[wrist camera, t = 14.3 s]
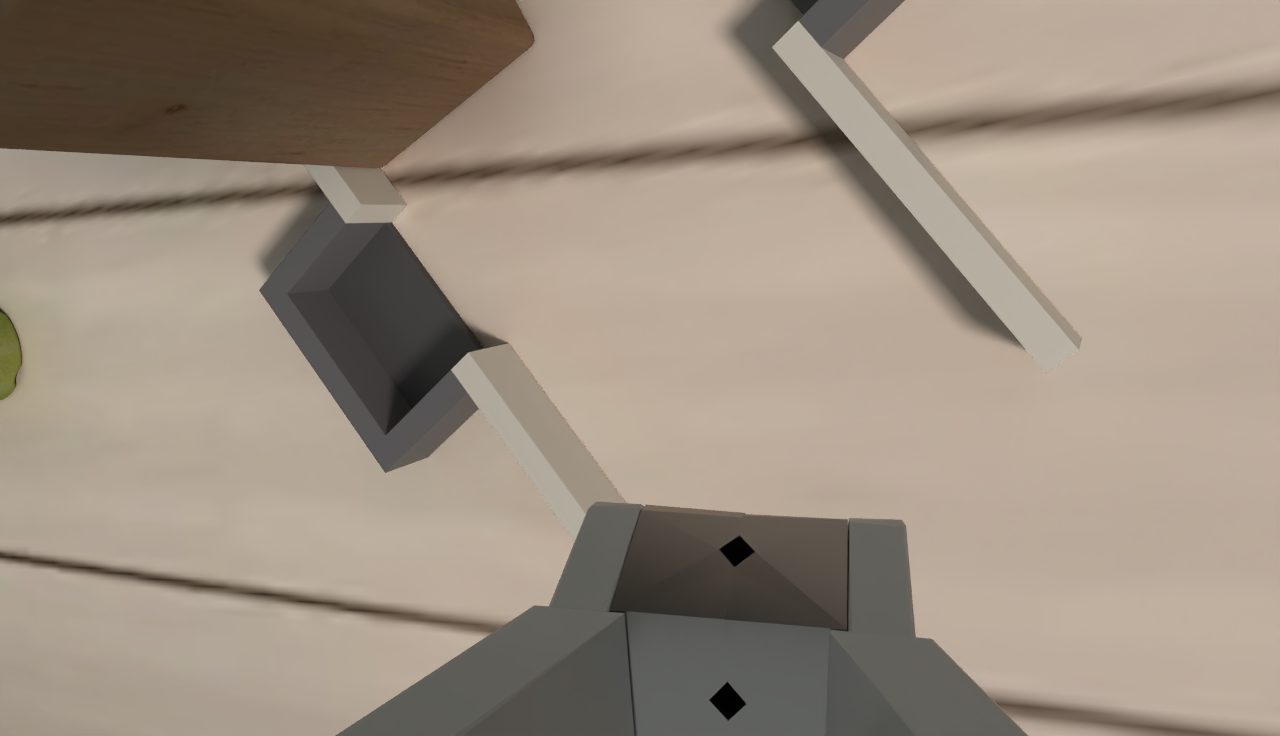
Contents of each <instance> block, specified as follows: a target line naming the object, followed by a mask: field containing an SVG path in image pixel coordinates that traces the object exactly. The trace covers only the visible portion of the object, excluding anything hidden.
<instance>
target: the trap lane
mask: <svg viewBox="0 0 1280 736" xmlns="http://www.w3.org/2000/svg"><path fill="white" fill-rule="evenodd" d="M772 48H773V49H774V50H775V52H776V53H777V54H778V55H779V56H780V58H781V59H782V60H783V61H784V62H785V64H786V65H787V66H788V67H789V68H790V70H791V71H792V72H793V73H794V74H795V75H796V77H797V78H798V79H799V80H800V81H801V83H802V84H803V85H804V86H805V87H806V89H807V90H808V91H809V92H810V93H811V94H812V96H813V97H814V98H815V99H816V100H817V102H818V103H819V104H820V105H821V106H822V108H823V109H824V110H825V111H826V112H827V114H828V115H829V116H830V117H831V118H832V119H833V121H834V122H835V123H836V124H837V125H838V127H839V128H840V129H841V130H842V131H843V133H844V134H845V135H846V136H847V137H848V138H849V140H850V141H851V142H852V143H853V144H854V146H855V147H856V148H857V149H858V150H859V152H860V153H861V154H862V155H863V156H864V158H865V159H866V160H867V161H868V162H869V163H870V165H871V166H872V167H873V168H874V169H875V171H876V172H877V173H878V174H879V175H880V177H881V178H882V179H883V180H884V181H885V182H886V184H887V185H888V186H889V187H890V188H891V190H892V191H893V192H894V193H895V194H896V196H897V197H898V198H899V199H900V200H901V202H902V203H903V204H904V205H905V206H906V207H907V209H908V210H909V211H910V212H911V213H912V215H913V216H914V217H915V218H916V219H917V221H918V222H919V223H920V224H921V225H922V226H923V228H924V229H925V230H926V231H927V232H928V234H929V235H930V236H931V237H932V238H933V240H934V241H935V242H936V243H937V244H938V245H939V247H940V248H941V249H942V250H943V251H944V253H945V254H946V255H947V256H948V257H949V259H950V260H951V261H952V262H953V263H954V265H955V266H956V267H957V268H958V269H959V270H960V272H961V273H962V274H963V275H964V276H965V278H966V279H967V280H968V281H969V282H970V284H971V285H972V286H973V287H974V288H975V289H976V291H977V292H978V293H979V294H980V295H981V297H982V298H983V299H984V300H985V301H986V303H987V304H988V305H989V306H990V307H991V309H992V310H993V311H994V312H995V313H996V314H997V316H998V317H999V318H1000V319H1001V320H1002V322H1003V323H1004V324H1005V325H1006V326H1007V328H1008V329H1009V330H1010V331H1011V332H1012V333H1013V335H1014V336H1015V337H1016V338H1017V339H1018V341H1019V342H1020V343H1021V344H1022V345H1023V347H1024V348H1025V349H1026V350H1027V351H1028V353H1029V354H1030V355H1031V356H1032V357H1033V358H1034V360H1035V361H1036V362H1037V363H1038V364H1039V366H1040V367H1041V368H1042V369H1043V370H1044V372H1045V373H1047V372H1048V371H1050V370H1051V369H1053V368H1054V367H1056V366H1057V365H1058V364H1060V363H1061V362H1063V361H1064V360H1066V359H1067V358H1068V357H1070V356H1071V355H1073V354H1074V353H1076V352H1077V351H1078V350H1079V348H1080V344H1081V340H1082V338H1081V337H1080V336H1079V335H1078V334H1077V332H1076V331H1075V330H1074V329H1073V328H1072V327H1071V325H1070V324H1069V323H1068V322H1067V321H1066V320H1065V318H1064V317H1063V316H1062V315H1061V314H1060V313H1059V311H1058V310H1057V309H1056V308H1055V307H1054V306H1053V304H1052V303H1051V302H1050V301H1049V300H1048V299H1047V297H1046V296H1045V295H1044V294H1043V293H1042V292H1041V290H1040V289H1039V288H1038V287H1037V286H1036V284H1035V283H1034V282H1033V281H1032V280H1031V279H1030V277H1029V276H1028V275H1027V274H1026V273H1025V272H1024V270H1023V269H1022V268H1021V267H1020V266H1019V265H1018V263H1017V262H1016V261H1015V260H1014V259H1013V258H1012V256H1011V255H1010V254H1009V253H1008V252H1007V251H1006V249H1005V248H1004V247H1003V246H1002V245H1001V244H1000V242H999V241H998V240H997V239H996V238H995V236H994V235H993V234H992V233H991V232H990V231H989V229H988V228H987V227H986V226H985V225H984V224H983V222H982V221H981V220H980V219H979V218H978V217H977V215H976V214H975V213H974V212H973V211H972V210H971V208H970V207H969V206H968V205H967V204H966V203H965V201H964V200H963V199H962V198H961V197H960V196H959V194H958V193H957V192H956V191H955V190H954V189H953V187H952V186H951V185H950V184H949V183H948V181H947V180H946V179H945V178H944V177H943V176H942V174H941V173H940V172H939V171H938V170H937V169H936V167H935V166H934V165H933V164H932V163H931V162H930V160H929V159H928V158H927V157H926V156H925V155H924V153H923V152H922V151H921V150H920V149H919V148H918V146H917V145H916V144H915V143H914V142H913V141H912V139H911V138H910V137H909V136H908V135H907V134H906V132H905V131H904V130H903V129H902V128H901V126H900V125H899V124H898V123H897V122H896V121H895V119H894V118H893V117H892V116H891V115H890V114H889V112H888V111H887V110H886V109H885V108H884V107H883V105H882V104H881V103H880V102H879V101H878V100H877V98H876V97H875V96H874V95H873V94H872V93H871V91H870V90H869V89H868V88H867V87H866V86H865V84H864V83H863V82H862V81H861V80H860V79H859V77H858V76H857V75H856V74H855V73H854V71H853V70H852V69H851V68H850V67H849V66H848V64H847V63H846V62H845V61H844V60H843V59H842V58H840V57H838V56H836V55H834V54H832V53H831V52H829V51H827V50H825V49H823V48H821V47H820V46H819V44H818V43H817V42H816V41H815V40H814V39H813V37H812V36H811V35H810V34H809V33H808V32H807V30H806V29H805V28H804V27H803V26H802V24H801V23H800V22H799V21H797V22H796V23H795V24H794V25H793V26H792V27H791V28H790V29H789V30H788V32H787V33H786V34H785V35H784V36H783V37H782V38H781V39H780V40H779V41H778V42H777V43H776V44H775V45H774V46H773V47H772ZM303 165H304V164H303ZM304 166H305V167H306V169H307V170H308V172H309V173H310V174H311V176H312V177H313V178H314V180H315V181H316V183H317V184H318V185H319V187H320V188H321V190H322V191H323V192H324V194H325V195H326V197H327V198H328V199H329V201H330V202H331V204H332V205H333V206H334V208H335V209H336V210H337V212H338V213H339V215H340V216H341V217H342V219H343V220H344V222H345V223H387V222H392V221H393V220H394V219H395V218H396V217H397V215H398V214H399V213H400V212H401V211H402V210H403V208H404V207H405V206H406V203H405V202H404V201H403V199H402V198H401V196H400V195H399V194H398V192H397V191H396V190H395V188H394V187H393V186H392V184H391V183H390V181H389V180H388V179H387V177H386V176H385V175H384V173H383V172H382V171H381V169H380V168H360V167H342V166H323V165H304ZM451 370H452V372H453V373H454V375H455V376H456V377H457V379H458V380H459V382H460V383H461V384H462V386H463V387H464V389H465V390H466V391H467V393H468V394H469V395H470V397H471V398H472V400H473V401H474V402H475V404H476V405H477V407H478V408H479V409H480V411H481V412H482V414H483V415H484V416H485V418H486V419H487V421H488V422H489V423H490V425H491V426H492V427H493V429H494V430H495V432H496V433H497V434H498V436H499V437H500V439H501V440H502V441H503V443H504V444H505V446H506V447H507V448H508V450H509V451H510V453H511V454H512V455H513V457H514V458H515V459H516V461H517V462H518V464H519V465H520V466H521V468H522V469H523V471H524V472H525V473H526V475H527V476H528V478H529V479H530V480H531V482H532V483H533V485H534V486H535V487H536V489H537V490H538V491H539V493H540V494H541V496H542V497H543V498H544V500H545V501H546V503H547V504H548V505H549V507H550V508H551V510H552V511H553V512H554V514H555V515H556V517H557V518H558V519H559V521H560V522H561V523H562V525H563V526H564V528H565V529H566V530H567V532H568V533H569V535H570V536H571V537H572V539H573V540H574V542H575V540H576V538H577V535H578V533H579V530H580V528H581V525H582V523H583V520H584V518H585V515H586V513H587V510H588V508H590V507H591V506H592V505H593V504H594V503H595V502H596V501H597V502H613V503H625V501H624V500H623V499H622V497H621V496H620V495H619V493H618V492H617V490H616V489H615V488H614V486H613V485H612V484H611V482H610V481H609V480H608V478H607V477H606V476H605V474H604V473H603V471H602V470H601V469H600V467H599V466H598V465H597V463H596V462H595V461H594V459H593V458H592V456H591V455H590V454H589V452H588V451H587V450H586V448H585V447H584V446H583V444H582V443H581V441H580V440H579V439H578V437H577V436H576V435H575V433H574V432H573V431H572V429H571V428H570V427H569V425H568V424H567V422H566V421H565V420H564V418H563V417H562V416H561V414H560V413H559V412H558V410H557V409H556V407H555V406H554V405H553V403H552V402H551V401H550V399H549V398H548V397H547V395H546V394H545V392H544V391H543V390H542V388H541V387H540V386H539V384H538V383H537V382H536V380H535V379H534V378H533V376H532V375H531V373H530V372H529V371H528V369H527V368H526V367H525V365H524V364H523V363H522V361H521V360H520V358H519V357H518V356H517V354H516V353H515V352H514V350H513V349H512V348H511V346H510V345H509V343H508V344H503V345H499V346H494V347H490V348H485V349H481V350H477V351H472V352H468V353H467V354H466V355H465V356H464V357H463V358H462V359H461V360H460V361H459V362H458V363H457V364H456V365H455V366H454V367H453V368H452V369H451Z"/></svg>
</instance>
